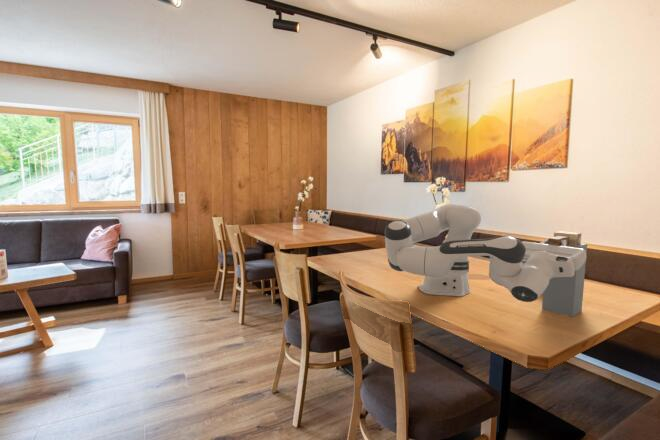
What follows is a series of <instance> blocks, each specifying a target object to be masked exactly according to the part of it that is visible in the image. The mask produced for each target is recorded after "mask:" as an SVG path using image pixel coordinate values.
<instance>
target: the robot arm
mask: <svg viewBox="0 0 660 440" xmlns="http://www.w3.org/2000/svg"><path fill="white" fill-rule="evenodd" d="M481 222H482V215H481V213H480V212H479V211H478V209H476V208H474V207H471V206H470V205H463V204H451V203H448V204H444V205H441V206H439V207H437V208H434V210H431V211H429V212H426V213H425V212H424V213H423V214H418V215H416V216H413V217H409V218H406V219H404V220H392V221H391V222H389V223H388V224H386V225H385V228H384V243H385V244H384V246H385V251H386V255H387V262H388V265H389V266H390V268H391V269H393V270H394V271H397V272H406V273H409V274H413V275H418V276H424V278H423V283H419V285H418V290H420V291H421V292H422V293H424V294H426V295H431V296H432V295H433V296H434V295H435V296H447V297H449V296H451V297H465V296H466V295H468V294H470V293H471V291H472V290H471V288H470V282H469V270H470V269H469V268H470V261H469V257H486V256H488V257H489V267H488V276H489V278H490V279H491V281H492V282H493V283H495V284H496V285H499V286H501V287H504V288H505V289H506V290H508V291H509V293H510V294H511V295H512V297H514V299H515V300H516V299H517V300H518V301H520V302H524V303H531V302H535V301H536V300H539V298H540V297H541V296H543V293H544V291H545V290H546V288H547V286H548V285H549V280H551V279H552V278H556V277H573V276H574V272H575V271H576V270H578V269H580V268H581V266H582V265H583V264H584V262H585V261H586V262H587V253H586V251H585V250H584V249H581V248H573V247H567V246H566V244H567V242H566V240H561V241H560V246H557V245H549V244H548V238H549V237H546V239H545V240H543V241H540V242H539V243H538V242H533V241H532V242H531V241H524V240H523V241H521V240H520V239H518V238H516V237H514V236H512V235H500V236H495V237H490V238H475V239H473V238H472V235H473V234H474V231H475V230H476V229H477V228H478V227H479V226H480V225H481ZM445 231H448V232H447V236H446V238H445V239H444V240H443V241H442V244H440V245H437V246H424V245H423V246H418V245H416V246H414V243H420V242H422V241H426V240H429V239H432V238H436V237H439V236H440V234H441V233H444V232H445ZM471 238H472V239H471Z"/></svg>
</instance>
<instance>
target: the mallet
mask: <svg viewBox="0 0 660 440" xmlns="http://www.w3.org/2000/svg"><path fill="white" fill-rule="evenodd" d="M547 238H548V244H549V245H557V246H560V241H561V240H566V242H567V244H566V245H578V244H581V243H582V232H575V231H574V232H573V231H564V230H563V231H562V230H559V231H555V232H553V236H552V237H547Z"/></svg>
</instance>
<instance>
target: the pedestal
mask: <svg viewBox="0 0 660 440" xmlns="http://www.w3.org/2000/svg"><path fill="white" fill-rule="evenodd" d="M566 246H567V247H573V248H581V249H584V250H585V251H586V254H587V251H588V243H585V242H581V244H578V245H566ZM586 262H587V260H586V261H585V262H584V264H583V265H582V266H581V268H580V269H578V270H576V271H575V272H574V276H573V277H556V278H552V279H551V280H549V285H548V286H547V288H546V290H545V291H544V293H543V294H542V303H541V304H542V306H541V309H542V310H543V311H547V312H551V313H556V314H560V315H563V316H566V317H571V318H574V317H575V316H577V315H578V314H580V313H581V312H582V310H583V300H584V299H583V298H584V287H585V275H586V264H587V263H586Z"/></svg>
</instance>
